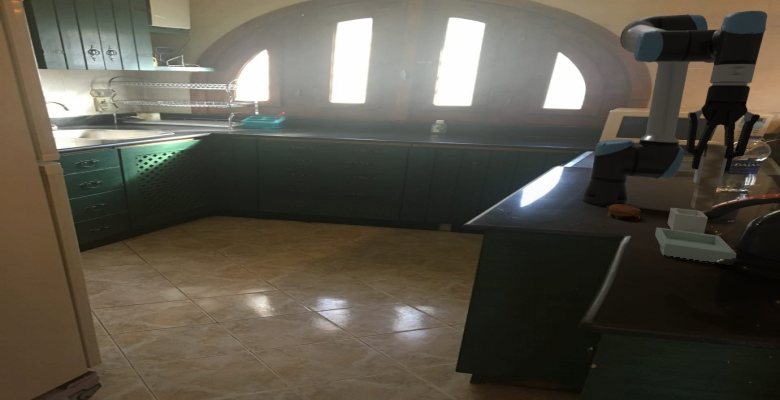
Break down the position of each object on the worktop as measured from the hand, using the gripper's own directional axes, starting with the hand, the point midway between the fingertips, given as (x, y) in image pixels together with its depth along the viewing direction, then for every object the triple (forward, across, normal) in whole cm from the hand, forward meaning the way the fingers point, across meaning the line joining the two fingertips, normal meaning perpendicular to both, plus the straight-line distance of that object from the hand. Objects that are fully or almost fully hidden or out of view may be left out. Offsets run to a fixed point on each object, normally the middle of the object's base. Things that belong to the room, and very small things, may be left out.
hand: (706, 183), depth 98 cm
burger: (+18, -14, +24) cm, 33 cm away
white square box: (+18, +2, +18) cm, 26 cm away
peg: (+7, 0, 0) cm, 7 cm away
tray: (+18, 0, 0) cm, 18 cm away
